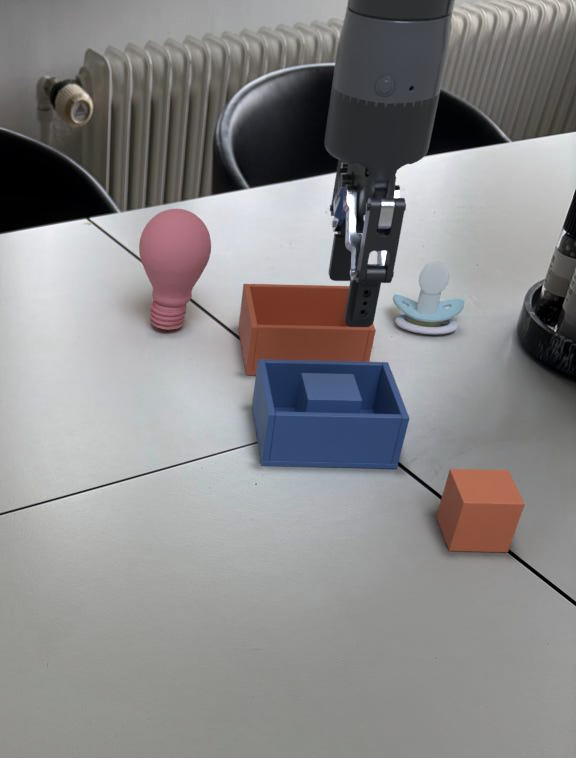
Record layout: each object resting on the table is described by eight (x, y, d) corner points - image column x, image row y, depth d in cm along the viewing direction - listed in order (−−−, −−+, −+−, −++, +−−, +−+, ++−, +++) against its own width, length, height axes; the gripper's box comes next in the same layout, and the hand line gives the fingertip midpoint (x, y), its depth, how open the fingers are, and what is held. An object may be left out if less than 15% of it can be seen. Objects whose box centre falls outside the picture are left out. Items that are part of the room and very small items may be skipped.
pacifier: (462, 341, 107) (457, 314, 112) (478, 283, 103) (472, 257, 107) (390, 335, 108) (387, 309, 112) (403, 278, 104) (400, 252, 108)
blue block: (344, 419, 94) (353, 373, 91) (352, 447, 91) (362, 400, 88) (293, 418, 94) (301, 372, 91) (300, 446, 91) (307, 399, 88)
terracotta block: (492, 517, 84) (508, 469, 81) (508, 552, 81) (525, 504, 78) (436, 516, 84) (449, 468, 81) (448, 551, 81) (463, 502, 78)
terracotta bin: (350, 332, 108) (359, 286, 105) (366, 377, 101) (376, 329, 98) (238, 329, 108) (243, 283, 105) (245, 375, 101) (251, 327, 98)
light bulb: (216, 324, 109) (227, 208, 101) (181, 349, 105) (190, 231, 97) (158, 306, 112) (165, 192, 104) (122, 330, 108) (126, 213, 100)
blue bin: (377, 411, 97) (388, 361, 93) (397, 469, 89) (409, 418, 86) (251, 408, 97) (257, 358, 93) (261, 465, 90) (268, 414, 86)
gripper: (464, 113, 68) (413, 342, 79) (419, 55, 79) (379, 265, 90) (349, 112, 68) (314, 342, 79) (319, 55, 79) (292, 264, 90)
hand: (349, 301), depth 84 cm, fingers open, 8 cm apart
